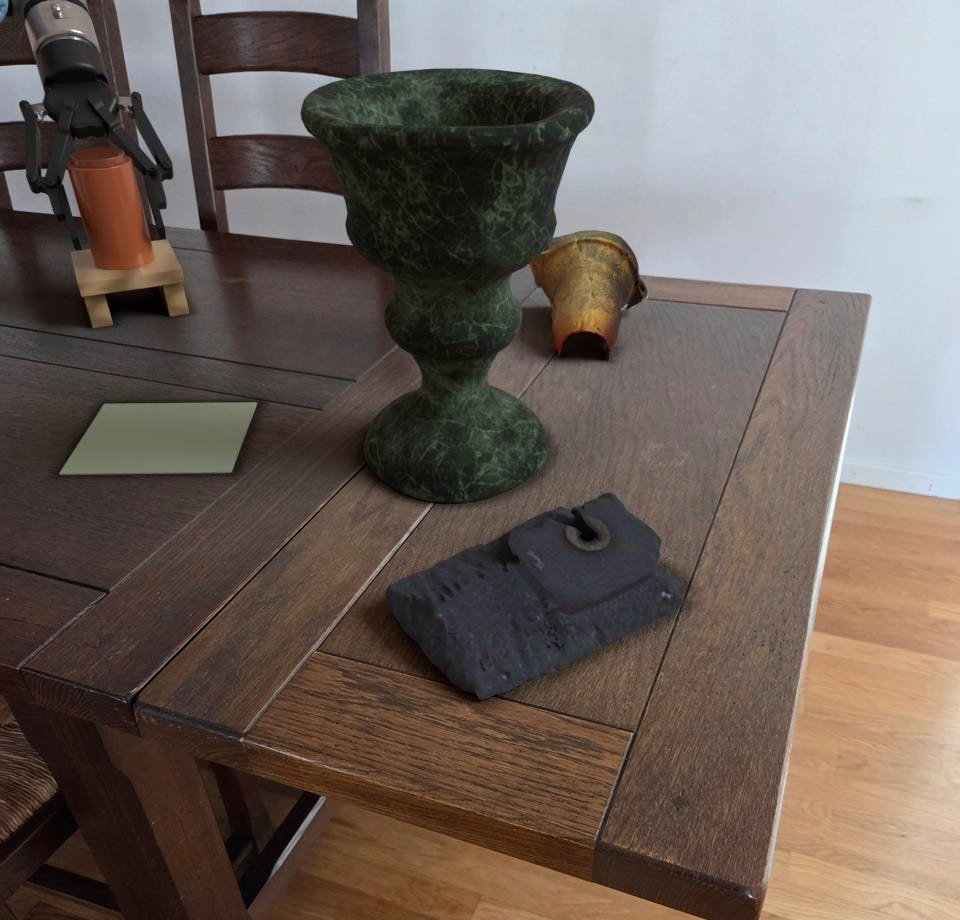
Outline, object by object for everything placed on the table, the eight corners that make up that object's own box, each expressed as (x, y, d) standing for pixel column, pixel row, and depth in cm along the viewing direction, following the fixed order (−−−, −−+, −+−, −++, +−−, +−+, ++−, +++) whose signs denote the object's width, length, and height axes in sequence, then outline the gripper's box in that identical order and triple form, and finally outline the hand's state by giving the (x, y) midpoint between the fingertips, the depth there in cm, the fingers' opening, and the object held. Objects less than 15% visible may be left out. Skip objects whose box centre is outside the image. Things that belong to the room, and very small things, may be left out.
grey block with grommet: (359, 601, 69) (354, 551, 66) (577, 510, 78) (581, 462, 75) (472, 718, 60) (472, 667, 56) (704, 599, 69) (715, 549, 66)
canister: (86, 270, 107) (54, 162, 99) (104, 250, 112) (75, 146, 104) (146, 270, 107) (119, 161, 99) (161, 249, 112) (137, 145, 104)
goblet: (301, 492, 81) (241, 116, 61) (395, 385, 97) (373, 60, 77) (534, 535, 75) (553, 140, 55) (593, 415, 91) (624, 74, 71)
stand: (92, 333, 107) (77, 283, 103) (84, 299, 116) (70, 251, 112) (192, 318, 111) (181, 268, 107) (178, 285, 119) (167, 239, 115)
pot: (521, 287, 94) (537, 184, 103) (489, 363, 103) (506, 263, 112) (669, 339, 97) (672, 234, 106) (625, 408, 107) (631, 307, 116)
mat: (60, 477, 83) (58, 473, 82) (105, 407, 93) (104, 403, 93) (231, 475, 83) (231, 471, 83) (257, 405, 93) (257, 402, 93)
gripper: (-41, 40, 99) (14, 233, 98) (160, 28, 105) (212, 210, 104) (-22, 87, 106) (28, 267, 105) (164, 73, 112) (213, 243, 112)
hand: (120, 238), depth 105 cm, fingers open, 9 cm apart
